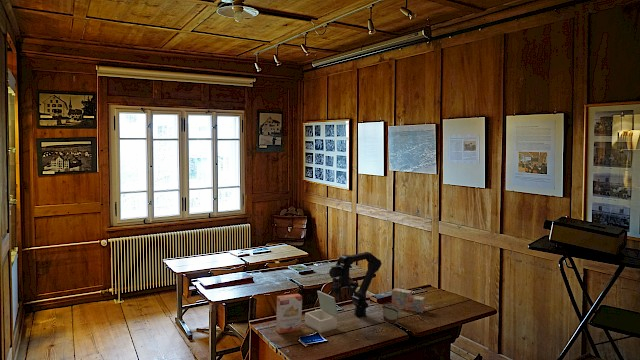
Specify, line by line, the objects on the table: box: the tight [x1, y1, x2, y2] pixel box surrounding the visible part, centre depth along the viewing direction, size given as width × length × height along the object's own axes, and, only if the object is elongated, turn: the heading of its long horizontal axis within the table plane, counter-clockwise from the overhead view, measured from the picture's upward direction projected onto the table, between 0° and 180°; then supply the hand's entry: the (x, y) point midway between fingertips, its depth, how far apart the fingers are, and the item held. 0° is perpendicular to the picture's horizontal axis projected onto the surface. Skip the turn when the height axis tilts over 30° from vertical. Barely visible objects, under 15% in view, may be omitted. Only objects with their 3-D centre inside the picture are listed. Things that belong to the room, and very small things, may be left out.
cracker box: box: [275, 293, 303, 334], centre depth 267 cm, size 14×6×21 cm, turn 116°
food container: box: [381, 303, 401, 325], centre depth 285 cm, size 12×6×10 cm, turn 47°
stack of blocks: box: [391, 287, 426, 314], centre depth 309 cm, size 21×6×12 cm, turn 58°
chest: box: [304, 308, 338, 334], centre depth 275 cm, size 12×16×7 cm
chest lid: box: [316, 290, 339, 318], centre depth 278 cm, size 12×16×1 cm
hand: (344, 299), depth 286 cm, fingers open, 9 cm apart
